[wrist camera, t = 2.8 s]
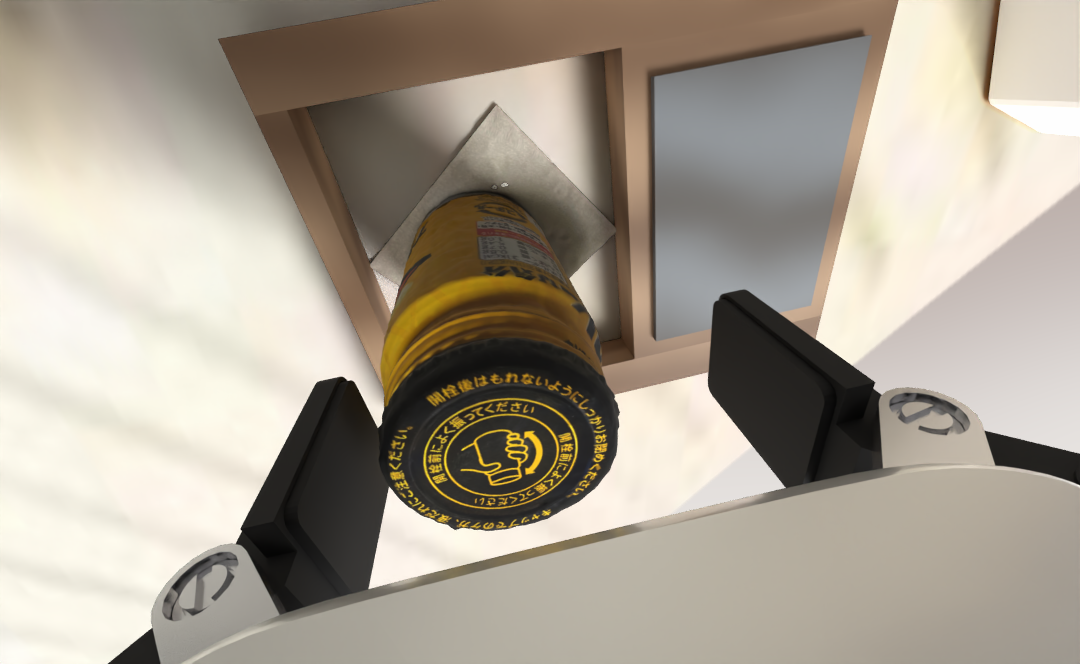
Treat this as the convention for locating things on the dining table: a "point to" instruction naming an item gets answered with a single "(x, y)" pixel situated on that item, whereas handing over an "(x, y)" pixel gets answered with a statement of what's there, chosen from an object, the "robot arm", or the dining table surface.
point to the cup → (1038, 64)
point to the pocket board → (621, 142)
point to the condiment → (494, 342)
